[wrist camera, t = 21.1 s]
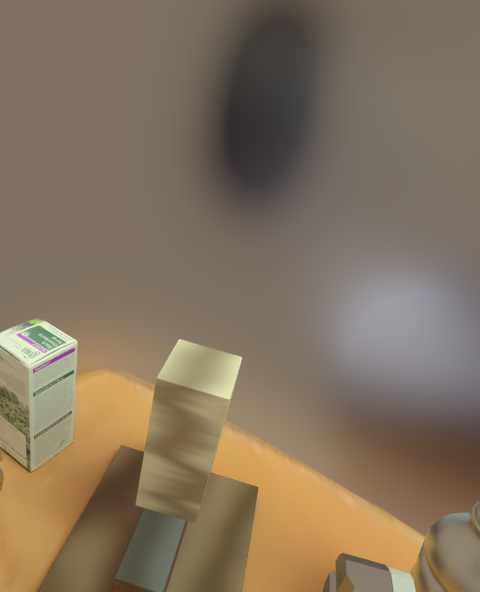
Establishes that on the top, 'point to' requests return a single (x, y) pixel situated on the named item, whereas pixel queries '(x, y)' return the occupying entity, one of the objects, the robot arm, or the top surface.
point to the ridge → (155, 539)
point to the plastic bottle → (450, 555)
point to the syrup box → (36, 392)
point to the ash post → (185, 429)
